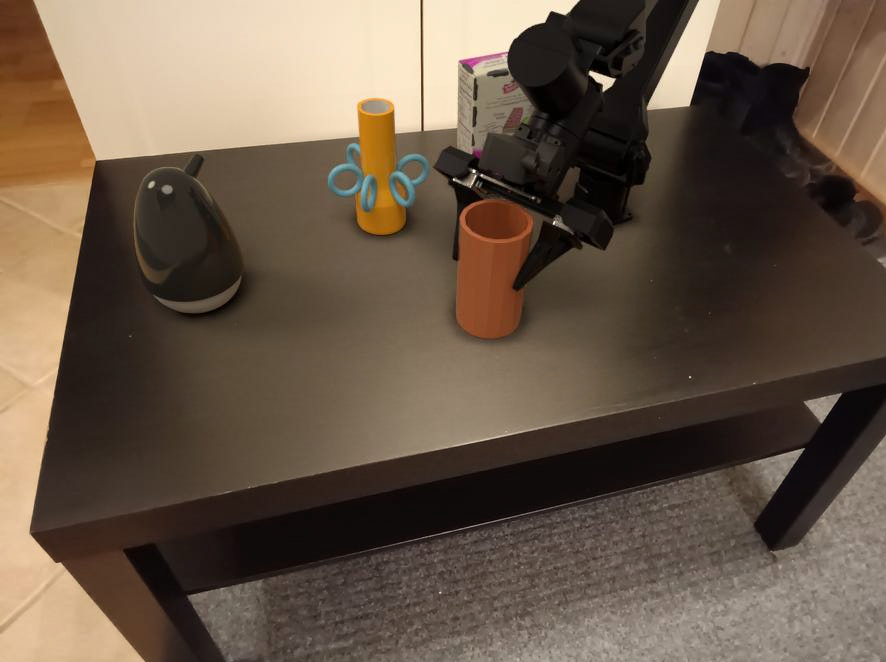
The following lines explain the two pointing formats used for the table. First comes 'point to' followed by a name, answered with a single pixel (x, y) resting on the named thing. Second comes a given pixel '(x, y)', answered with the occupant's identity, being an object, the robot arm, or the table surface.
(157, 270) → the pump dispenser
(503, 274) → the pot
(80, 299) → the table surface
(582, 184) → the robot arm
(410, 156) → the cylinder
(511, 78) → the candy bar box
